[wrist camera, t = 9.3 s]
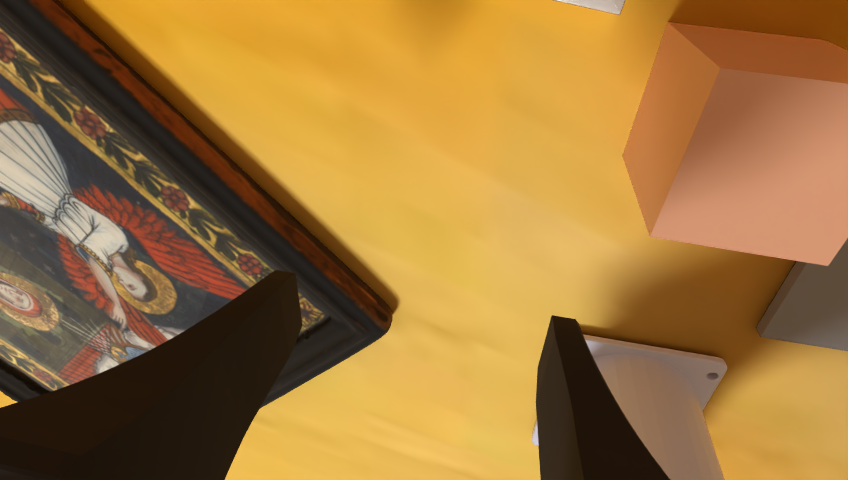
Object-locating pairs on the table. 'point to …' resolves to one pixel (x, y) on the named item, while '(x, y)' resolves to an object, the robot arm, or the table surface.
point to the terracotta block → (744, 143)
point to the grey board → (811, 305)
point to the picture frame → (599, 5)
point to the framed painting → (135, 221)
